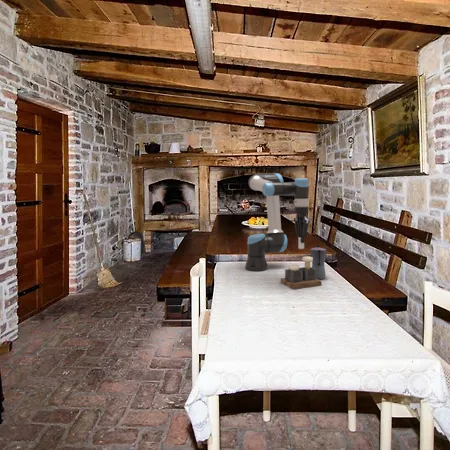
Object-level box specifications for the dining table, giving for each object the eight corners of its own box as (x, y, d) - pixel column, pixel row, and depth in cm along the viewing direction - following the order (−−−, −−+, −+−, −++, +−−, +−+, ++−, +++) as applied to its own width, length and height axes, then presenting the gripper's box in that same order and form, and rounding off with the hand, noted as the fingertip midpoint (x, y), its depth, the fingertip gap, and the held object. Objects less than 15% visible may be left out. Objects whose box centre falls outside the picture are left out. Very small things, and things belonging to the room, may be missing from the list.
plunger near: (286, 279, 192) (286, 265, 191) (295, 278, 194) (295, 264, 193) (292, 281, 187) (292, 267, 186) (300, 280, 189) (300, 266, 188)
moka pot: (324, 274, 212) (324, 242, 210) (329, 281, 197) (329, 247, 194) (308, 274, 213) (308, 242, 210) (312, 281, 198) (312, 247, 195)
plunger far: (300, 270, 195) (300, 256, 194) (308, 269, 197) (309, 256, 196) (306, 272, 189) (306, 258, 189) (314, 271, 191) (314, 257, 190)
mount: (280, 282, 196) (280, 268, 195) (307, 279, 202) (307, 265, 201) (293, 289, 183) (293, 274, 182) (321, 285, 189) (321, 270, 188)
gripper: (289, 206, 192) (289, 247, 195) (301, 207, 180) (301, 251, 182) (301, 205, 194) (301, 246, 197) (314, 206, 182) (313, 249, 185)
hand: (301, 248), depth 190 cm, fingers closed
